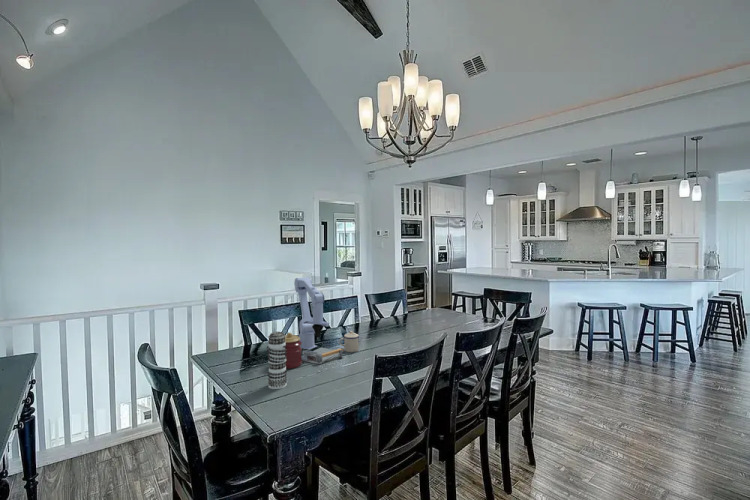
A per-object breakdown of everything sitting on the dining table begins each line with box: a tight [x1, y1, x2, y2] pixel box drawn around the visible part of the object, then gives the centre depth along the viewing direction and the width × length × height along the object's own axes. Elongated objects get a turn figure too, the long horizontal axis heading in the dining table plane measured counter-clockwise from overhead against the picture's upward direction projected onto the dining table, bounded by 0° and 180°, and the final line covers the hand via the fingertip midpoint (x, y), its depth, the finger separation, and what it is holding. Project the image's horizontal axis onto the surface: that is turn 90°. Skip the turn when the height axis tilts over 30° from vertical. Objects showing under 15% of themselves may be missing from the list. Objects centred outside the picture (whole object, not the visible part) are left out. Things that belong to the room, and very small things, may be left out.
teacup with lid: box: [338, 330, 360, 353], centre depth 232 cm, size 12×9×12 cm
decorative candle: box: [266, 331, 288, 390], centre depth 179 cm, size 9×9×25 cm
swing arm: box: [316, 347, 346, 362], centre depth 214 cm, size 20×3×4 cm, turn 136°
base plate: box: [302, 347, 344, 365], centre depth 219 cm, size 21×22×4 cm
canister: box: [285, 332, 303, 369], centre depth 207 cm, size 13×13×18 cm
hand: (318, 337), depth 224 cm, fingers closed
